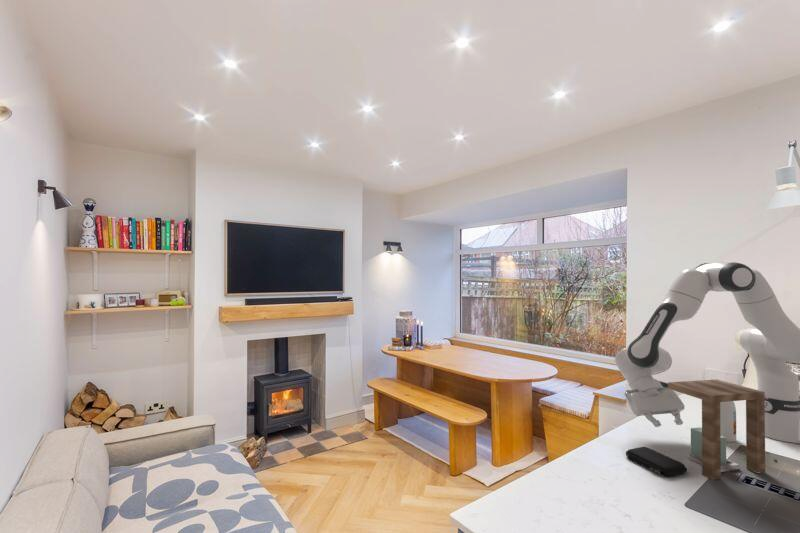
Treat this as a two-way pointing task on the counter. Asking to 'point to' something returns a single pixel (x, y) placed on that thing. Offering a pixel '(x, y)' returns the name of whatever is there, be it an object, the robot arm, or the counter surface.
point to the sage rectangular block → (697, 444)
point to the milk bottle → (728, 420)
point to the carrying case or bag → (656, 461)
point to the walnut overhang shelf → (711, 434)
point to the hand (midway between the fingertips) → (669, 425)
